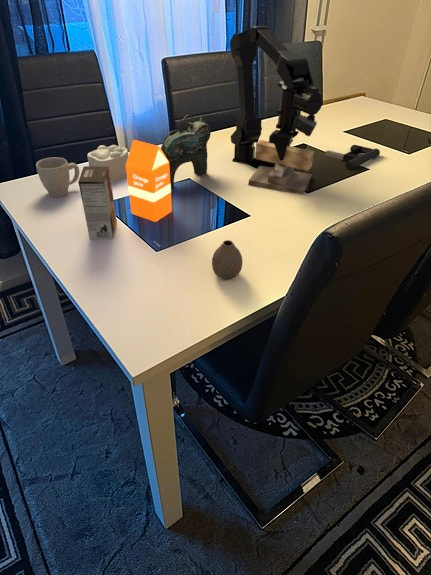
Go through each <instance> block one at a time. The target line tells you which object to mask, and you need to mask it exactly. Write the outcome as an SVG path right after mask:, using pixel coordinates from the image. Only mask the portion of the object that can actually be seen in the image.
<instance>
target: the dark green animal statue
mask: <svg viewBox="0 0 431 575" xmlns="http://www.w3.org/2000/svg"><path fill="white" fill-rule="evenodd" d="M189 117H190V118H191V120H192V122H188V121H187V124H188V125H189V127H188V129H187V130H180V129H174V130H172V131H170V132H168V133H167V134H166V135H165V136H164V137H163V139H162V140H163V141H162V144H161V146H160V149H161V150H162V152H163V153H164V155H165V157H166V158H167V160H168V161H169V168H170V183H171V188H174V186H175V176H176V172H177V171H178V169H179V167H180V166H181V165H183V164H187V163H190V162H191V163H192V167H193V172H194V175H196V176H199V177H202V176H205V175H207V174H208V147H207V144H208V142H209V140H210V139H211V128H210V127H211V126H210V125H209V124H207V123H205V121H204V118H203V117H202V116H200V118H199V121H194V117H193V116H192V115H191V114H186V115H185V116H184V117H183V119H182V121H183V122H185V121H186V119H187V118H189ZM174 132H176V133H174ZM173 133H174V134H173ZM171 134H172V135H171Z"/></svg>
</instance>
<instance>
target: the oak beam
mask: <svg viewBox="0 0 431 575" xmlns="http://www.w3.org/2000/svg"><path fill="white" fill-rule="evenodd" d="M314 152H315V151H313V150H309V149H305V148H299V147H295V146H291V145H290V146H288V147H287V150H286V153H285V156H284V160H283V161H282V160H280V159H279V156H278V153H277V150H276V148H275V145H274V144H273V143H269V140H268V141H267V140H263V139H261V140H260V139H259V140H258V142H257V143H255V157H254V160H259V161H263V162H269V163H272V164H275V165H276V164H280V165H284V166H289V167H293V168H294V169H297V170H302V171H305V172H308V171H309V170H310V169H311V168H312V167H313V160H314V154H315V153H314Z"/></svg>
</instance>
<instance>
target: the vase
mask: <svg viewBox="0 0 431 575" xmlns="http://www.w3.org/2000/svg"><path fill="white" fill-rule="evenodd" d="M211 267H212V271H213V272H214V274H215V275H216V276H217V277H218V278H219V279H221V280H223V281H229V280H230V281H231V280H233V279H235V278H237V276H239V274H240V272H241V271H242V268H243V256H242V254H241V251H240V249H239V248H238V247H237V246H236V245H235V243H234V242H233V241H232V240H230V239H226V240H224V241H222V243H221V244H220V246H218V247H217V249H216V250H215V251H214V252H213V256H212V259H211Z"/></svg>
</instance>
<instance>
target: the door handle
mask: <svg viewBox="0 0 431 575" xmlns="http://www.w3.org/2000/svg"><path fill="white" fill-rule="evenodd" d="M349 150H350V151H349V152H347V153H340V152H336V151H334V150H333V151H332V150H326V151H325V156H327V157H331V158H334V159H337V160H341V161H342V162H343V163H346V164H345V167H346V169H347V170H353V169H355V168H357V167H362V166H364V165H366V164H369V163H370V162H372V161H373V159H375V158H377V157H380V155H381V154H380V153H381V151H380V149H379V148H370V147H367V146H361V145H357V144H353V145H351V146H350V148H349Z"/></svg>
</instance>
